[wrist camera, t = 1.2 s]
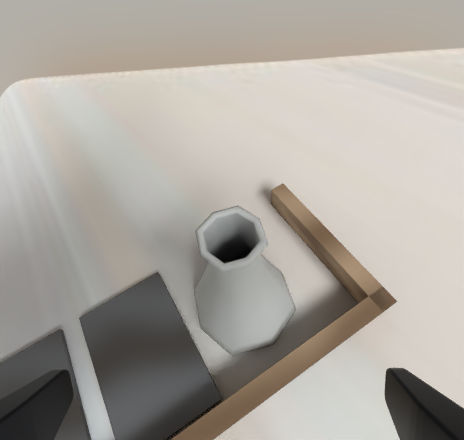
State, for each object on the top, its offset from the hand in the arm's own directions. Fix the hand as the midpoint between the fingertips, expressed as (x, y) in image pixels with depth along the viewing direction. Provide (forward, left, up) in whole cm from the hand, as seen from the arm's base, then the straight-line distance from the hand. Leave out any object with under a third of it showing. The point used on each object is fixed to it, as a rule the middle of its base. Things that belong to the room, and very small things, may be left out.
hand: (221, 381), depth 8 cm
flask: (+5, -3, -12) cm, 14 cm away
